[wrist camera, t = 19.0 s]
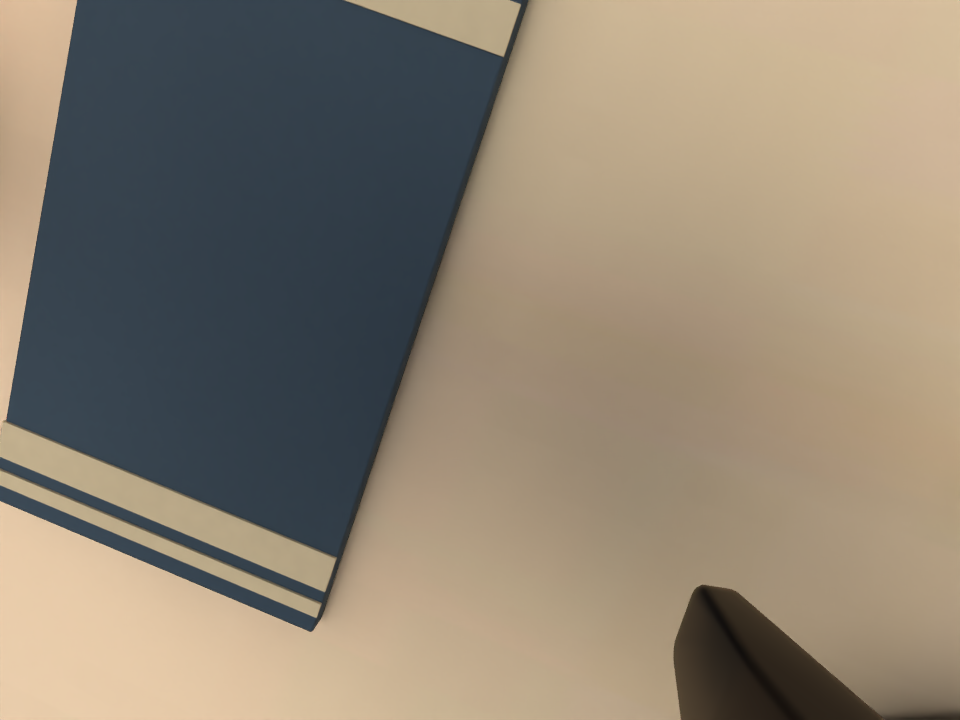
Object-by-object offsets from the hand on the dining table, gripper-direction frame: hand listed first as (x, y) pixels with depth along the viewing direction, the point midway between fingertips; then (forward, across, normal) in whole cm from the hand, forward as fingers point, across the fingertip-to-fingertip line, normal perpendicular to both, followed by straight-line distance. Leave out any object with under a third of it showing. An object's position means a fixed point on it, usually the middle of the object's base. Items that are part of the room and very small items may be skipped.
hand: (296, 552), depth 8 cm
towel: (+13, +5, +1) cm, 14 cm away
